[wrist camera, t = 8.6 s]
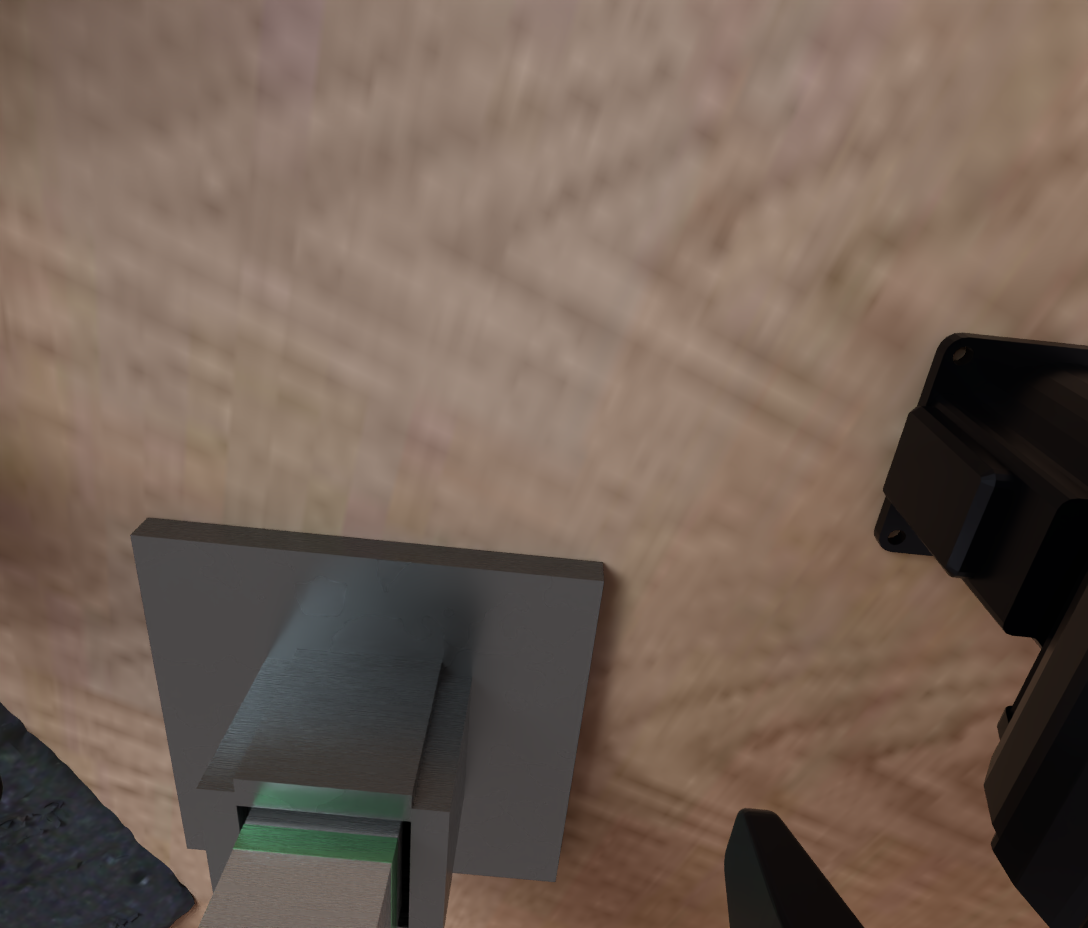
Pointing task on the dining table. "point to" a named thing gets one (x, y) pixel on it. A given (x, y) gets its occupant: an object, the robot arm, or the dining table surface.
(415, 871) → the stand
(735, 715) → the dining table surface
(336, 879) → the column
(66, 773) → the dark slate chunk
